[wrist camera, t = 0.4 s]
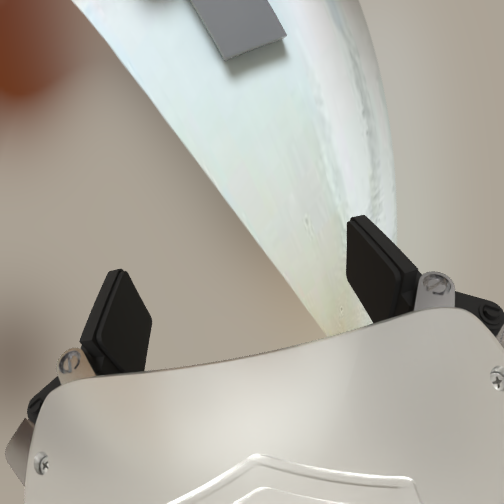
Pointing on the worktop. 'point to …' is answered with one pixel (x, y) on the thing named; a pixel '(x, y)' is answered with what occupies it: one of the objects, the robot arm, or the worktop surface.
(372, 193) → the worktop surface
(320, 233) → the worktop surface
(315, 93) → the worktop surface
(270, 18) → the board
